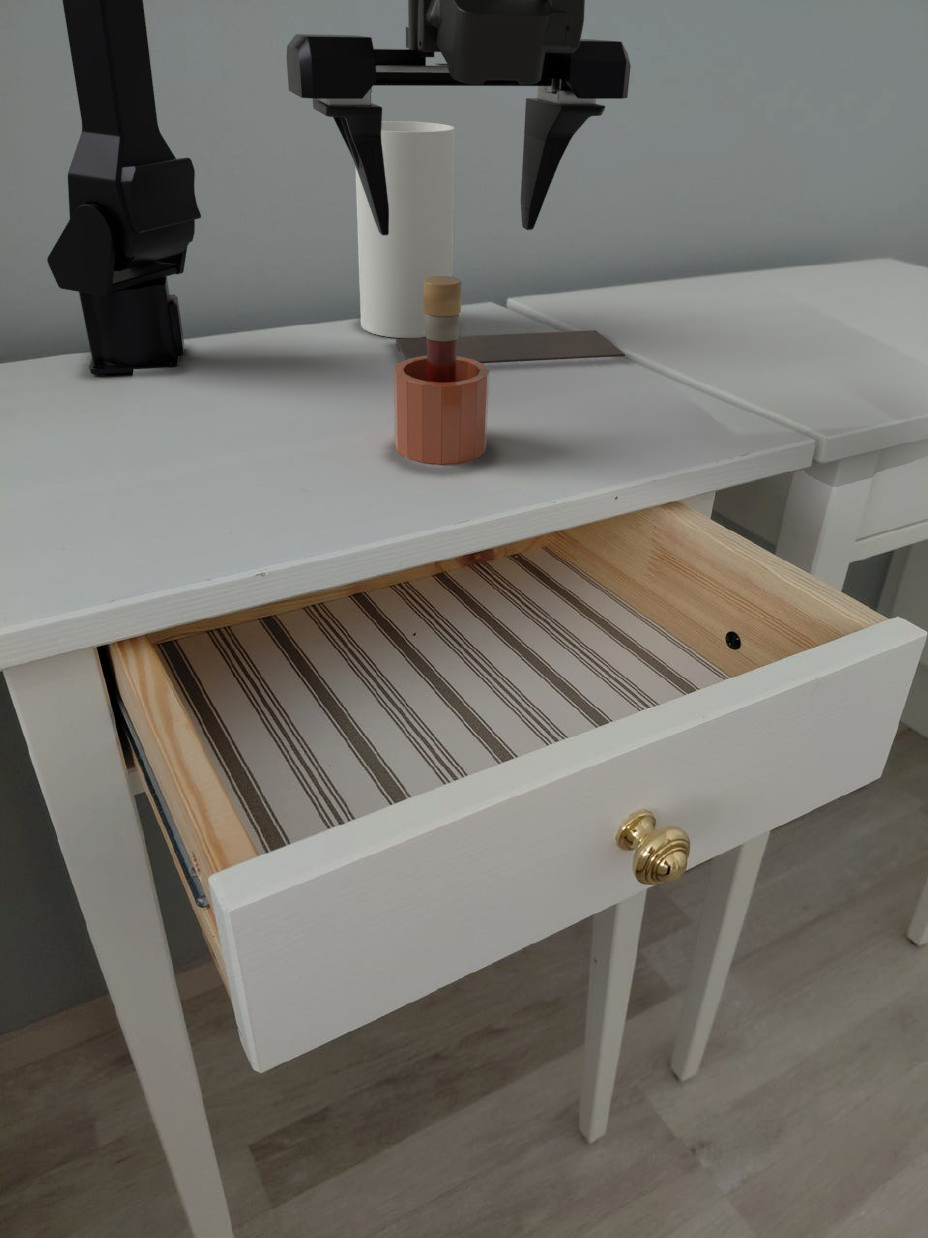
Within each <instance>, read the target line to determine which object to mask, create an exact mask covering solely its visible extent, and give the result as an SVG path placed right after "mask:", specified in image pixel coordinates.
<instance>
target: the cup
mask: <svg viewBox="0 0 928 1238" xmlns="http://www.w3.org/2000/svg"><path fill="white" fill-rule="evenodd" d="M381 144H382V152H383V160H384V169H385V178H386V187H387V196H388V205H389V234H388V235H381V234H380V233H379V231H378V228H377V225H376V222H375V220H374V217H373V214H372V211H371V208H370V205H369V203H368V200H367V197H366V194H365V191H364V188H363V186H362V183H361V180H360V177H359V174H358V171H357V169H356V166H355V165H354V166H355V195H356V221H357V222H356V224H357V227H356V228H357V248H358V249H357V253H358V254H357V255H358V256H357V257H358V281H359V283H358V284H359V308H360V309H359V310H360V311H359V313H360V327H361V328H362V329H363V330H364V331H365V332H368V333H370V334H374V335H377V336H382V337H385V338H395V339H410V338H426V336H425V324H426V313H425V312H424V279H426V278H428V277H433V276H450V277H454V276H453V275H454V272H453V271H454V224H455V223H454V222H455V221H454V220H455V169H456V167H455V166H456V165H455V163H456V159H455V158H456V128H455V126H452V125H450V124H444V123H437V122H427V121H426V122H425V121H412V120H411V121H409V120H391V121H390V120H386V121H385V120H384V121H383V120H382V126H381Z"/></svg>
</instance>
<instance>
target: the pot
mask: <svg viewBox="0 0 928 1238" xmlns="http://www.w3.org/2000/svg"><path fill="white" fill-rule="evenodd" d="M489 392H490V369H489V368H488V367H487V365H485V363H480V362H478V361H476V360H473V359H468V358H464V357H458V356H457V360H456V382H447V383H439V382H427V356H420V357H415V358H410V359H404V360H401V361H400V362H398V363H397V364H396V366H395V367H394V369H393V402H394V403H393V407H394V408H393V410H394V411H393V413H394V414H393V415H394V447H395V450H396V451H397V453H398V454H399V455H400V456H401V457H404V458H405V459H407V460H410V461H413V462H416V463H420V464H425V465H432V466H450V465H451V466H452V465H459V464H465V463H468V462H472V461H474V460H476V459H478V458H480V457H481V456H483V454H485V452H486V449H487V444H488V443H487V442H488V419H489V417H488V416H489V395H490V393H489Z"/></svg>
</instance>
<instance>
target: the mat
mask: <svg viewBox="0 0 928 1238" xmlns="http://www.w3.org/2000/svg"><path fill="white" fill-rule="evenodd" d="M395 346H396V348H397V350H398V352H402V354H403V356H404V358H405V360H407V359H410V358H415V357H420V356H427V338H426V337H421V338H395ZM457 356H458V357H464V358H468V359H473V360H476V361H478V362H480V363H482V364H494V363H513V362H533V361H534V362H535V361H551V360H552V361H553V360H572V359H594V358H611V357H612V358H613V357H625V356H626V354H625V352H623V351H622V350H621V349H619V348H618V347H617V346H616V345H614V344H613V343H612V342H611V341H610V340H608V338H606V337H605V336H604V335H602V334H601V333H600V332H599V331H597V329H594V330H593V329H592V330H591V329H590V330H571V331H570V330H569V331H550V332H549V331H548V332H547V331H546V332H525V333H524V332H523V333H502V334H501V333H500V334H483V335H481V334H480V335H459V337H458V339H457Z"/></svg>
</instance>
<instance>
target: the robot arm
mask: <svg viewBox="0 0 928 1238" xmlns="http://www.w3.org/2000/svg"><path fill="white" fill-rule="evenodd" d="M585 5H586V0H407V14H408V15H407V16H408V19H407V23H408V25H407V26H405V48H375V47H374V44H373V38H372V37H371V36H364V35H356V34H312V33H311V34H308V33H306V34H304V33H303V34H302V33H301V34H300V33H296V34H294V36H293V37H292V39H291V40H290V41H289V42H288V44H287V46H286V71H287V84H288V91H289V93H290V92H291V93H292V94H294V95H296V96H297V97H299V98H302V99H311V100H312V108H313V110H314V111H317V112H318V113H320V114H322V115H324V116H325V117H329V118H333V120H334V123H335V124H336V126H337V128H338V131H339V134H340V135H341V137H342V139H343V142H344V144H345V145H346V147H347V149H348V151H349V154H350V156H351V158H352V161H353V163H354V166H356V169H357V171H358V174H359V177H360V180H361V183H362V186H363V188H364V191H365V194H366V197H367V200H368V203H369V205H370V208H371V211H372V214H373V217H374V220H375V222H376V225H377V228H378V231H379V233H380V234H381V235H388V234H389V205H388V196H387V187H386V178H385V169H384V160H383V152H382V144H381V126H382V121H383V107H382V106H380V105H378V104H376V103H373V102H372V93H373V87H374V86H381V87H382V86H383V87H384V86H387V87H388V86H390V87H392V86H393V87H394V86H398V87H399V86H400V87H401V86H402V87H403V86H405V87H407V86H408V87H409V86H411V87H413V86H414V87H417V86H418V87H425V86H427V87H454V86H455V87H537V96H536V97H526V98H525V111H524V125H523V126H524V127H523V146H522V147H523V148H522V149H523V150H522V165H521V167H522V168H521V185H520V216H521V226H522V228H523V229H524V230H526V231H533V230H534V228H535V226H536V223H537V221H538V218H539V216H540V213H541V210H542V207H543V205H544V202H545V199H546V198H547V195H548V193H549V190H550V188H551V185H552V182H553V179H554V177H555V174H556V172H557V170H558V167H559V164H560V162H561V160H562V158H563V156H564V154H565V152H566V149H567V148H568V146H569V144H570V142H571V140H572V139H573V137H574V136H575V134H576V133H577V131H579V130H580V128H582V126H583V125H584V124H585V123H586V121H587V120H588V119H589V118H591V117H600V116H601V117H602V116H603V113H604V112H605V109H606V105H603V104H599V103H596V102H597V99H600V100H601V99H603V100H604V99H605V100H614V99H615V100H617V99H620V100H621V99H622V100H623V99H628V97H629V95H628V94H629V87H630V86H629V85H630V76H631V67H632V66H631V62H630V58H629V54H628V51H627V49H626V48H625V46H624V43H623V42H622V41H620V40H619V41H618V40H607V39H606V40H605V39H594V38H593V39H592V38H587V39H586V38H582V33H583V29H584V22H585V9H586V8H585V7H586V6H585ZM62 6H63V12H64V18H65V24H66V31H67V37H68V43H69V51H70V57H71V62H72V68H73V75H74V81H75V89H76V95H77V100H78V106H79V113H80V119H81V133H80V136H79V139H78V142H77V144H76V148H75V151H74V153H73V157H72V160H71V162H70V165H69V168H68V171H67V191H68V209H69V210H68V211H69V220H68V222H67V224H66V225H65V227H64V228H63V230H62V232H61V233H60V235H59V237H58V239H57V241H56V243H55V244H54V245H53V247H52V249H51V251H50V253H49V255H48V256H47V259H46V262H47V264H48V267H49V269H50V271H51V274H52V275H53V278H54V281H55V282H56V284H57V286H58V288H59V289H60V290H67V291H71V292H72V291H73V292H77V293H78V295H79V301H80V303H81V304H80V305H81V310H82V315H83V319H84V325H85V326H84V327H85V330H86V335H87V340H88V345H89V350H90V355H91V360H90V363H89V366H88V367H89V368H88V369H89V374H91V375H108V374H110V375H111V374H130V373H131V374H133V373H134V370H144V369H145V370H147V369H166V368H167V369H168V368H176V367H178V366H179V363H180V357H182V356H183V355H184V354H185V339H184V332H183V326H182V318H181V317H182V316H181V311H180V303H179V298H178V296H177V294H170V289H169V281H168V277H171V276H173V275H180V274H183V273H184V271H185V264H186V258H187V251H188V246H189V245H190V243H192V242H193V241H194V237H195V232H196V221H195V220H200V219H201V218H202V213H201V211H200V209H199V207H198V204H197V197H196V193H195V191H196V190H195V182H196V181H195V178H196V172H195V171H196V169H195V166H194V163H193V160H192V159H191V158H190V157H179V158H178V157H177V158H176V155H175V154H174V152H173V151H172V149H171V147H170V146H169V145H168V143H167V141H166V140H165V138H164V135H162V133H161V131H160V127H159V124H158V123H159V122H158V116H157V108H156V97H155V91H154V82H153V81H154V80H153V74H152V66H151V56H150V49H149V48H150V47H149V41H148V39H149V38H148V31H147V24H146V15H145V7H144V0H62ZM435 53H441V55H442V57H443V59H444V61H445V62H435V63H434V65H433V64H429V65H427V58H435Z"/></svg>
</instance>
